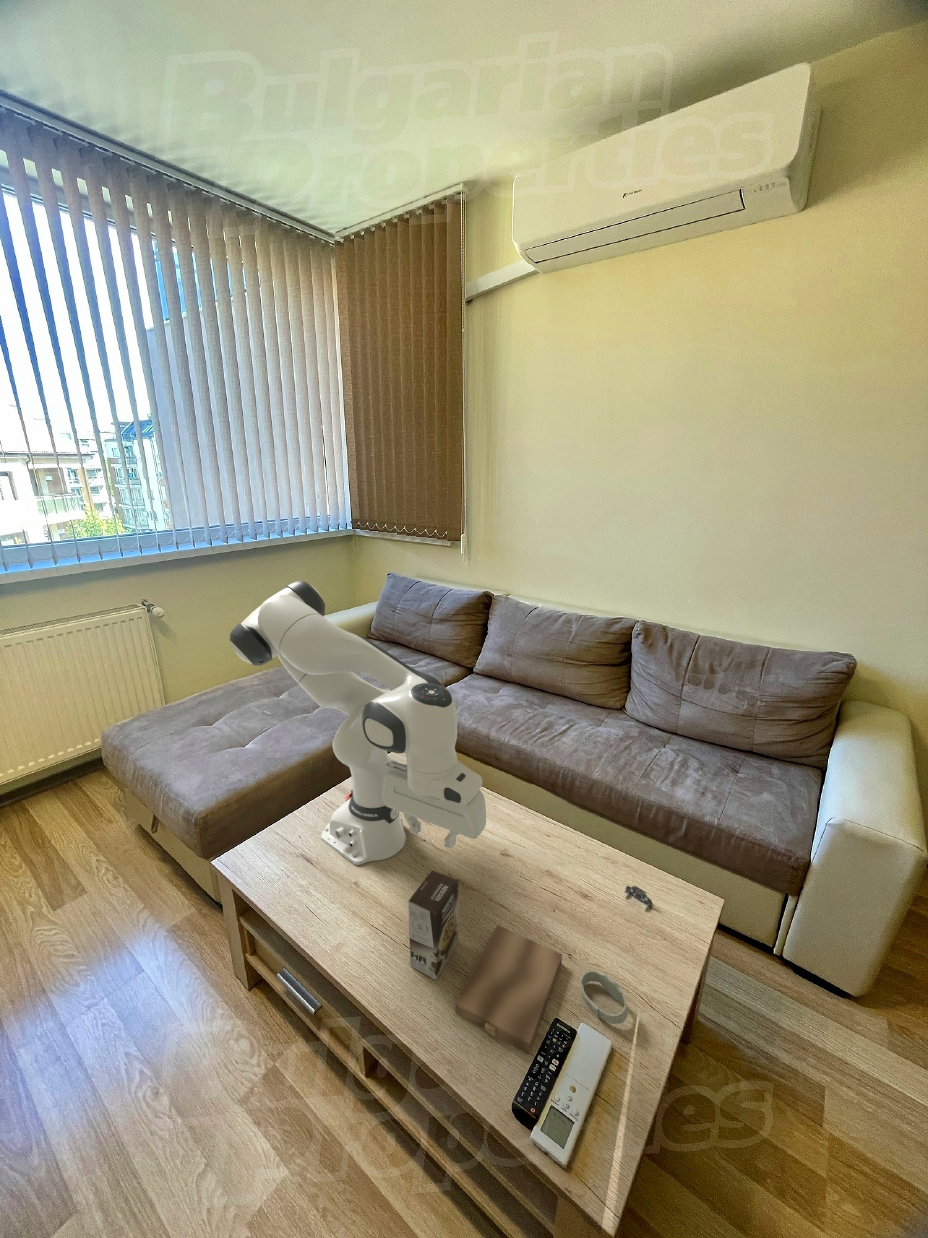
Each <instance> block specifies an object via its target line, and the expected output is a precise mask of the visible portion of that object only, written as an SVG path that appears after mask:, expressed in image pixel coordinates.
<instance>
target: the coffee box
mask: <svg viewBox="0 0 928 1238" xmlns="http://www.w3.org/2000/svg"><path fill="white" fill-rule="evenodd" d="M408 931H409V934H408V935H409V936H408V937H409V938H408V939H409V965H410V967H412V968H414V970H417V971H419V972H420V973H422V974H424V975H426V976H428V977H430V978H431V979H433V980H437V979H438V978H439V976H440V975H441V973H442V971H443V969H444V967H446V964H447V963H448V961H449V959H450V958H451V956H452V954H453V952H454V950H455V949H456V948H457V946H458V944H459V880H457V879H455V878H454V877H451V876H449V875H446V874H443V873H440V872H438V871H435V870H434V869H431V871H430V872H429V873H428V874H427V876H426V877H425V878H424V880H423V881H422V882H421V884H420V885H419V886H418V888H417V889H416V890H415V892H414V893H413V894H412V896H411V897H410V898H409V899H408Z"/></svg>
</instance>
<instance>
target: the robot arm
mask: <svg viewBox="0 0 928 1238" xmlns="http://www.w3.org/2000/svg"><path fill="white" fill-rule="evenodd" d="M322 596H323V595H322V594H321V593H320V592H319V591H318V590H317V588H316V587H314V586H313V585H312V584H309V583H308V582H306V581H303V580H296V581H293V582H292V583H289V584H288V585H285V587H284V588H283V589H281V590H280V591H278V592H276V593H275V594H273V595H271V596H270V597H269V598H267V599H266V600H264V601H263V602H261V604H260V605H259V606H257V608H256V609H254V610H253V611H252V612H251V613H250V614H249V615H248V616H247V617H246V618H245V619H244V620H243V621H242V622H241V623H240V622H239V623H238V624H237V625H235V627H234V628H233V629H232V631H230V634H229V641H230V644H231V648H232V650H233V651H234V653H235V654H236V656H237V657H238V658H240V659H241V660H242V661H243V662H245V663H248V664H250V665H252V666H254V667H261V666H264V665H266V664H268V663H270V662H271V661H273V660H274V657H275V658H276V657H278V660H279V661H280V663H281V665H282V666H283V667H284V668H285V670H286V671H287V673H288V674H289V675H290V676H291V677H292V678H293V680H294V681H295V682H296V683H297V684H298V685H299V686H300V687H301V689H303V690H304V691H305V693H307V694H308V695H309V697H310V698H311V699H312V700H314V702H315V703H316V704H317V705H318V706H320V707H322V708H326V709H334V710H337V711H340V712H341V713H343V714H345V715H346V716H347V718H346V719H345V720H344V721H343V722H342V723H341V725H340V726H339V727H338V730H337V731H336V733H335V735H334V737H333V740H332V750H333V753H334V755H335V757H336V758H337V760H338V761H340V762H341V763H342V764H343V765H345V766H347V767H349V771H350V774H351V782H352V783H351V785H352V789H351V790H350V793H348V794H347V795H346V796H345V797H344V799H345V800H344V803H342V804H341V805H340V806H338V808H337V809H336V810H334V812H333V813H332V815H331V818H330V821H329V822H328V824H327V825H326V826H325V828H324V829H323V830H322V831H321V835H320V840H321V841H322V842H323V843H324V842H325V843H324V844H326V845H327V846H328V845H329V846H328V847H330V848H331V847H332V848H333V849H332V848H331V849H332V850H334V851H335V850H336V851H335V852H337V853H338V854H339V853H340V854H339V855H340V856H342V855H343V856H344V857H343V856H342V857H343V858H345V860H346V859H347V861H349V862H350V863H351V864H353V865H355V866H360V865H364V864H365V863H368V862H373V861H374V862H376V861H382V860H386V859H388V858H391V857H393V856H395V855H396V854H397V853H399V852H400V851H401V850H402V849H403V847H404V846H405V844H406V839H407V836H406V832H405V829H404V826H403V823H402V817H401V813H402V814H403V817H404V819H405V821H406V823H407V824H408V826H409V832H410V833H412V834H413V835H418V834H419V833H420V832H421V830H422V821H424V822H427V823H430V824H431V825H432V824H433V825H435V826H437V827H440V828H443V829H444V830H445V829H446V830H448V831H449V832H448V833H447V836H445V837H444V839H443V842H444V845H443V846H445V847H447V848H450V849H451V850H452V849H453V848H454V847H455V845H456V842H457V836H458V835H461V836H464V837H467V838H469V839H472V840H476V838H478V837H479V836H481V834H482V833H483V831H484V829H485V828H486V825H487V824H486V823H487V808H486V800H485V796H484V794H483V792H482V791H481V787H482V786H483V777H482V776H481V775H479V774H478V773H476V772H475V771H473V770H472V769H470V768H469V767H468V766H467V765H465V764H464V763H462V762H461V761H460V760H458V757H457V751H456V748H455V747H456V742H457V739H458V721H457V720H458V719H457V717H458V715H457V708H456V703H455V700H454V697H453V695H452V693H451V692H450V690H449V689H447V688H446V687H445V686H444V685H443V684H442V683H441V682H440V680H439V679H436V678H435V677H434V676H432V675H430V674H428V673H425V672H421V671H419V670H417V669H415V668H413V667H411V666H410V665H408V664H407V663H405V662H404V661H402V660H400V659H399V658H397V656H395V655H393V654H391V653H390V652H389V651H388V650H385V649H384V648H383V647H381V646H379V645H377V644H376V643H374V642H373V641H371V640H369V639H368V638H365V637H363V636H360V635H357V634H355V633H352V632H349V631H348V630H345V629H343V628H341V627H339V626H337V625H336V624H334V623H332V622H331V621H329V620H328V619H327V618H325V617H324V616H325V613H326V603H325V601H324V598H323V597H322ZM356 673H358V674H359V673H361V674H364V675H366V676H369V677H371V678H373V680H376V681H377V682H378V683H380V684H382V685H383V686H384V687H386V688H388V689H382V688H379V687H377V686H375V685H373V684H371V683H369V681H366V680H365V679H364V678H362V677H361V676H359V675H358V674H356ZM388 752H389V753H394V754H405V756H406V764H405V763H402V762H398V761H396V760H393V759H392V758H391V757H389V754H388ZM418 819H419V820H421V821H419V820H418Z"/></svg>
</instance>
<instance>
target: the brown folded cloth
mask: <svg viewBox="0 0 928 1238" xmlns="http://www.w3.org/2000/svg"><path fill="white" fill-rule="evenodd" d="M562 961H563V953H561V952H558V951H557V950H554V949H551V948H550V947H547V946H545V945H543V944H540V943H538V942H536V941H534V940H532V939H529V938H528V937H526V936H523V935H521V934H518V933H516V932H514V931H512V930H510V929H507V928H505V927H503V926H501V925H498V924H497V925H496V926H495V928H494V930H493V932H492V934H491V936H490V938H489V940H488V941H487V943H486V945H485V947H484V948H483V951H482V953H481V954H480V956H479V958H478V959H477V962H476V964H475V966H474V967H473V970H472V972H471V973H470V975H469V976H468V978H467V981H466V983H465V984H464V986H463V988H462V990H461V992H460V994H459V996H458V997H457V999H456V1001H455V1014H457V1015H458V1016H460V1017H462V1018H464V1019H465V1020H466V1021H469V1022H470V1023H472V1024H474V1025H476V1026H478V1027H479V1028H481V1029H483V1030H484V1031H485V1032H486V1033H488V1034H490V1035H491V1036H492V1037H496V1038H499V1039H501V1040H502V1041H504V1042H506V1043H507V1044H509V1045H511V1046H513V1047H515V1048H516V1049H519V1050H520V1051H521V1052H524V1053H525V1054H527V1055H530V1052H531V1050H532V1047H533V1044H534V1042H535V1039H536V1036H537V1034H538V1030H539V1028H540V1025H541V1021H542V1019H543V1017H544V1014H545V1011H546V1008H547V1006H548V1003H549V999H550V998H551V994H552V991H553V989H554V986H555V983H556V980H557V978H558V975H559V972H560V969H561V967H562Z"/></svg>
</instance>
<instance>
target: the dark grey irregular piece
mask: <svg viewBox="0 0 928 1238" xmlns="http://www.w3.org/2000/svg"><path fill="white" fill-rule="evenodd" d="M624 893H625V894H626V895H625V899H627V898H628V897H629V896H630V897H632V898H633V897H634V898H633V899H634V900H636V899H637V902H639V901H640V902H639V903H641V902H642V903H641V904H643V905H644V904H645V905H644V906H645V909H644V911H646V910H647V909H648V908H649V909H650V908H651V909H650V910H653V901H652V899H651V898H650V897H648V895H647V892H646V891H644V890H643V889H642V888H641V887H638V886H636V885H632V886H630V885H627V886H626V887H625V890H624ZM647 907H648V908H647Z"/></svg>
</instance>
